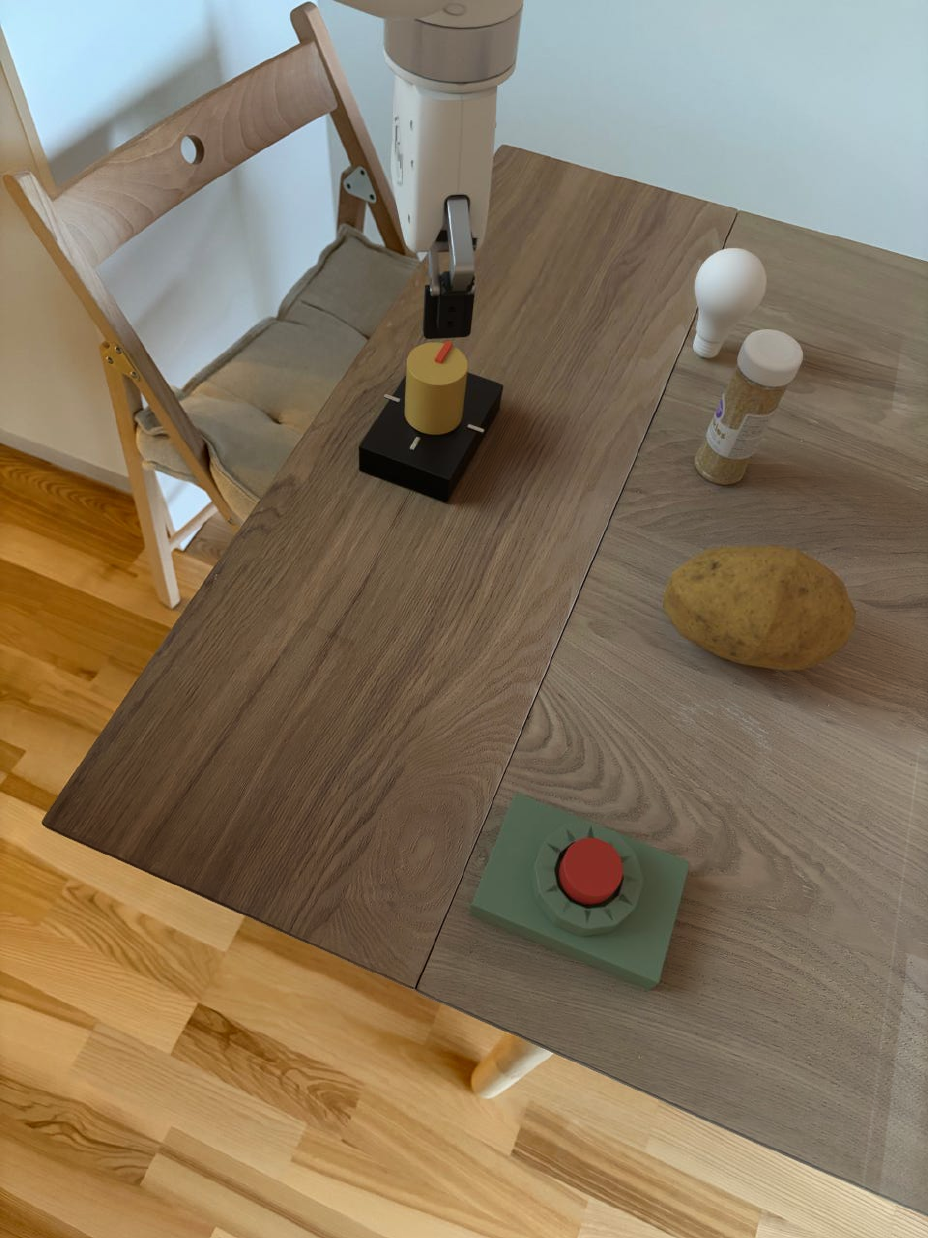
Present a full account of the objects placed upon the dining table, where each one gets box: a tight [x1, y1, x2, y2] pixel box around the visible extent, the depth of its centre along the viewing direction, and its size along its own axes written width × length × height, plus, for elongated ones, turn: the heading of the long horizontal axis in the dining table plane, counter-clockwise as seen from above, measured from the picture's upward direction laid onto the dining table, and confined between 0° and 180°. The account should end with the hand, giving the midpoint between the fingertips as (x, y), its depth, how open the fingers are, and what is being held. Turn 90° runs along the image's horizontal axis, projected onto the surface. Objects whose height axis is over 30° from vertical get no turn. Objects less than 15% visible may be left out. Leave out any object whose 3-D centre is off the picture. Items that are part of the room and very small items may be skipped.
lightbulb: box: [692, 247, 767, 359], centre depth 85 cm, size 6×6×11 cm
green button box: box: [467, 791, 691, 991], centre depth 59 cm, size 12×8×4 cm, turn 69°
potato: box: [662, 544, 857, 671], centre depth 68 cm, size 10×13×9 cm
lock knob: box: [405, 340, 469, 435], centre depth 76 cm, size 5×5×6 cm
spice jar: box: [694, 328, 804, 486], centre depth 76 cm, size 5×5×13 cm
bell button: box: [559, 838, 623, 905], centre depth 57 cm, size 4×4×2 cm
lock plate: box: [358, 371, 504, 504], centre depth 79 cm, size 12×9×3 cm
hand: (435, 287), depth 66 cm, fingers open, 9 cm apart
